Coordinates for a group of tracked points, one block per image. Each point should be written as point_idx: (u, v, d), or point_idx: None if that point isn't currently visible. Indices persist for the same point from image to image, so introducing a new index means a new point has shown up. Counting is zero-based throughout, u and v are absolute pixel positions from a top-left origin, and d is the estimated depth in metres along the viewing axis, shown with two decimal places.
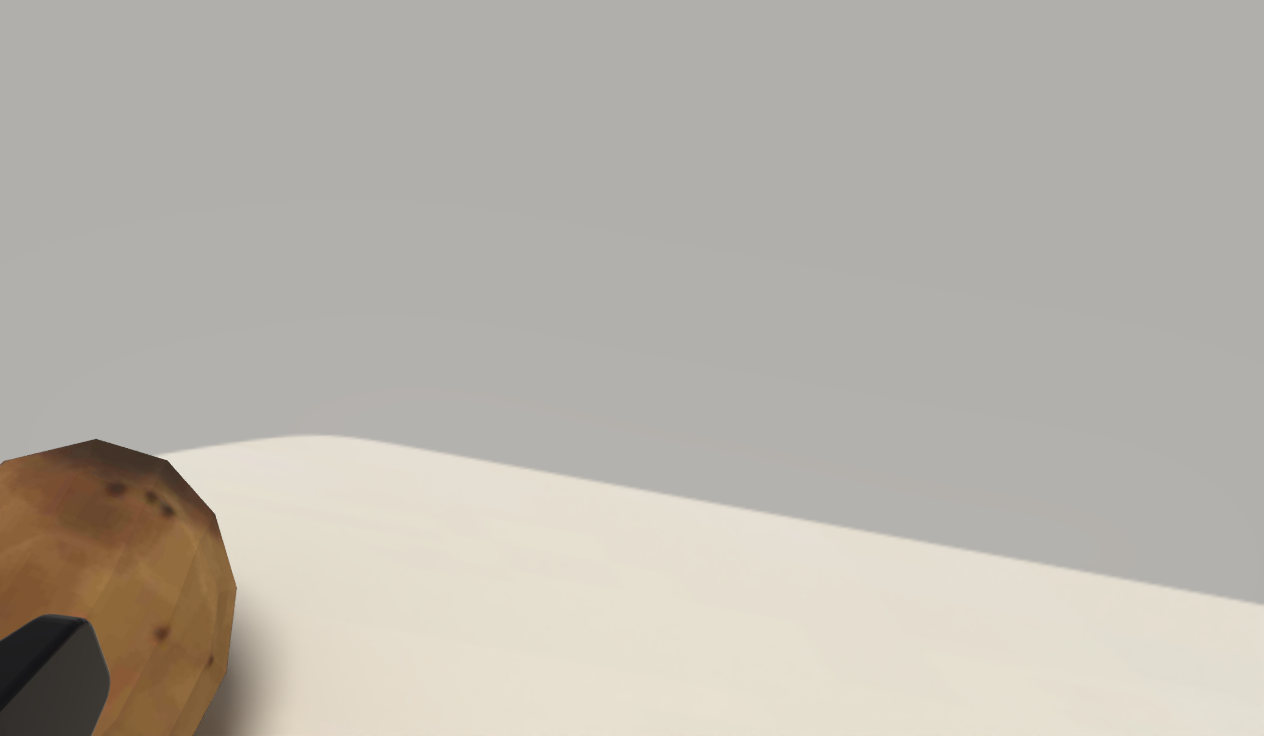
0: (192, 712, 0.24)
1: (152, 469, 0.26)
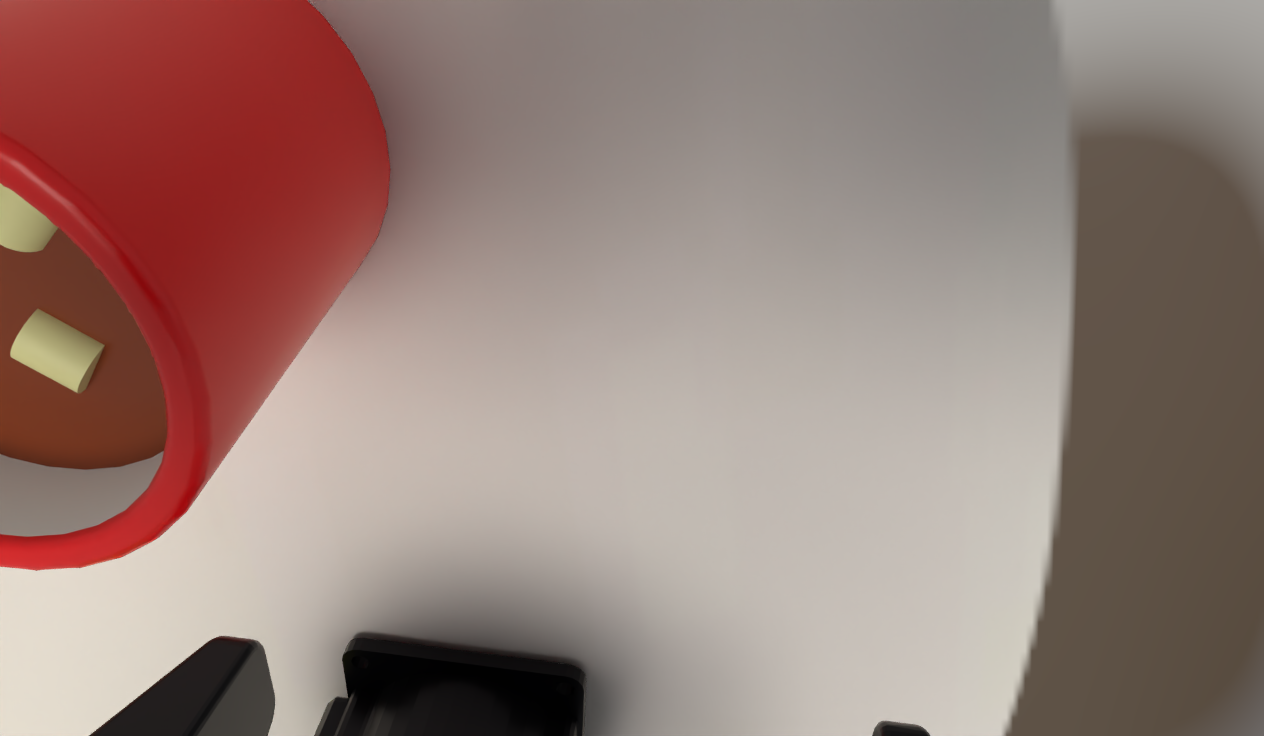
0: None
1: None
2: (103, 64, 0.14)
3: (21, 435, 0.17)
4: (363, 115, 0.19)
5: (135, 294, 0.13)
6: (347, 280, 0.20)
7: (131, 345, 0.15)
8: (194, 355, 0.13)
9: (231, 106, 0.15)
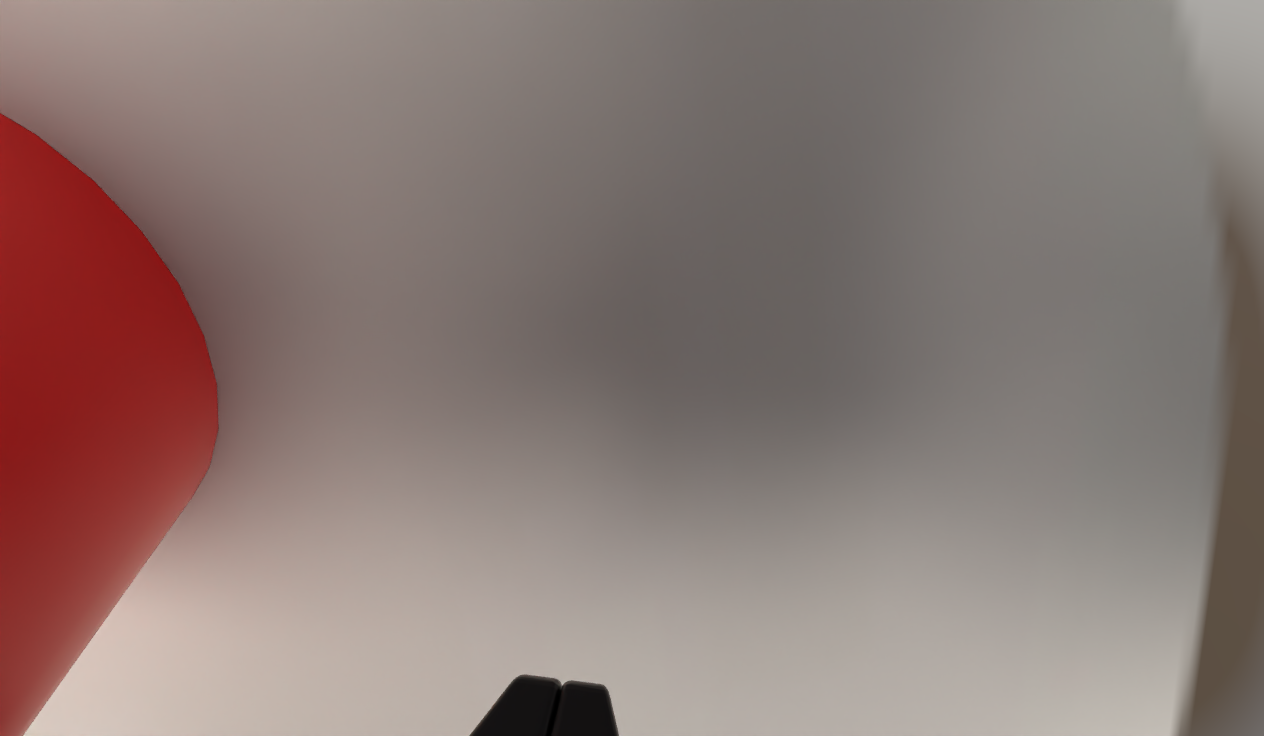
0: None
1: None
2: None
3: None
4: (157, 326, 0.12)
5: None
6: (150, 550, 0.14)
7: None
8: None
9: None
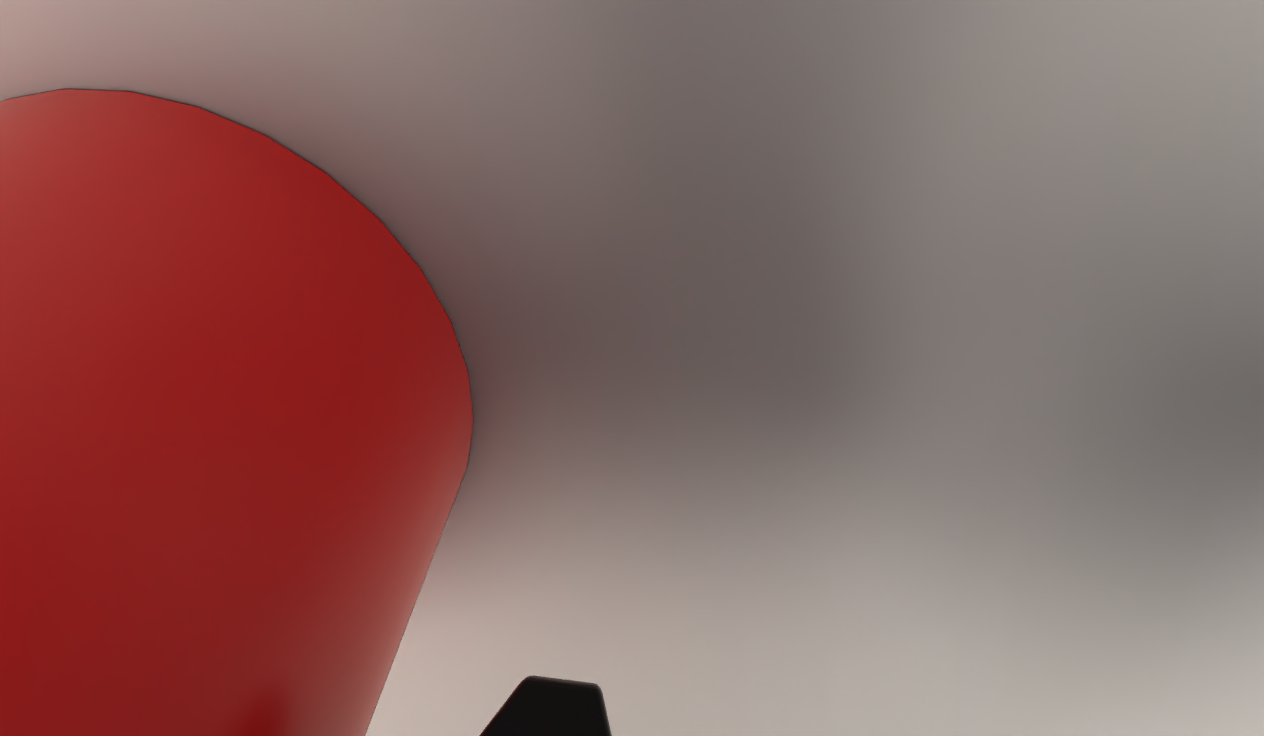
0: None
1: None
2: (2, 446, 0.07)
3: None
4: (440, 366, 0.12)
5: None
6: None
7: None
8: None
9: (242, 453, 0.09)
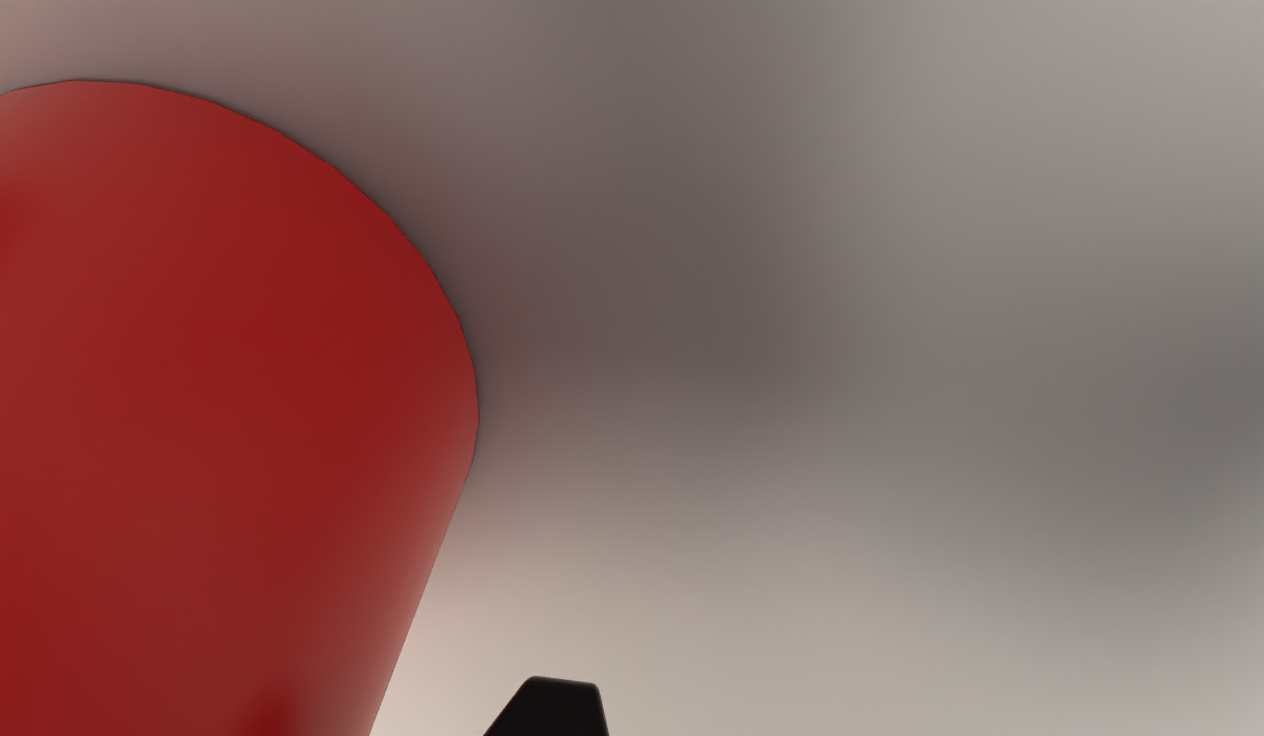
0: None
1: None
2: (16, 442, 0.07)
3: None
4: (447, 363, 0.12)
5: None
6: None
7: None
8: None
9: (252, 450, 0.09)
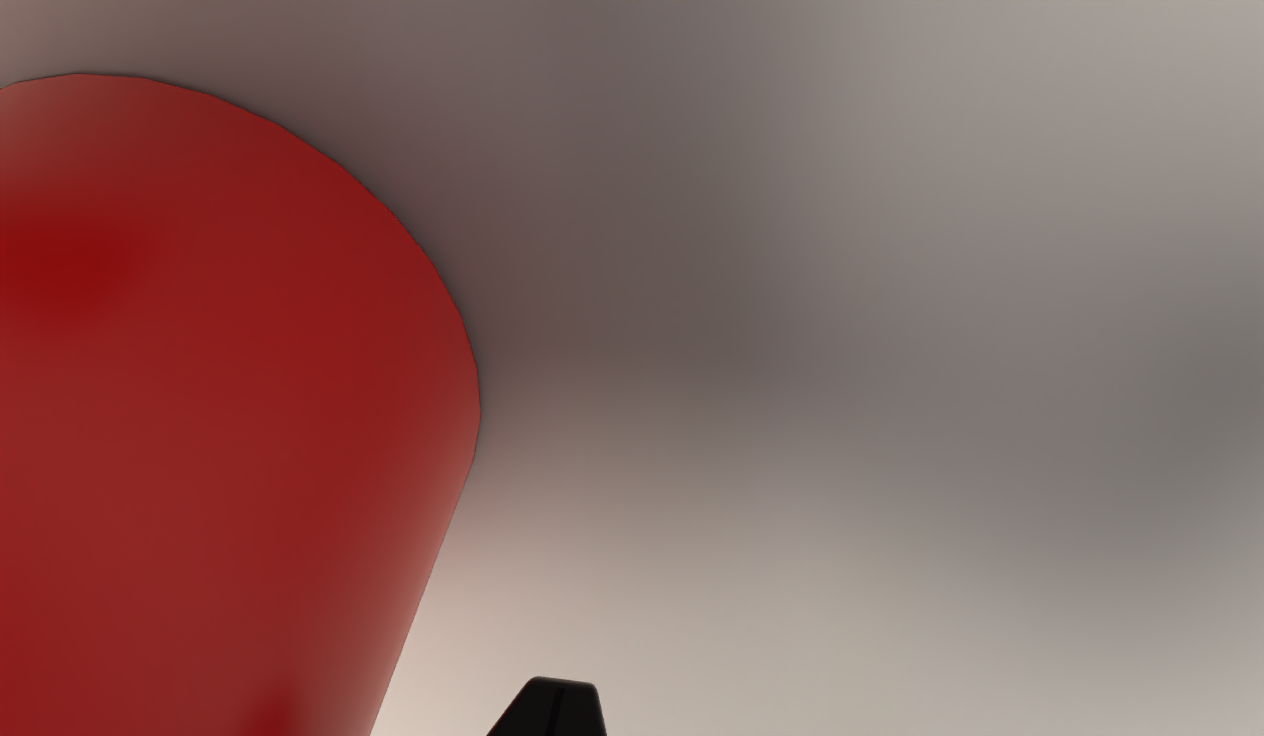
0: None
1: None
2: (20, 441, 0.07)
3: None
4: (450, 361, 0.12)
5: None
6: None
7: None
8: None
9: (257, 450, 0.09)
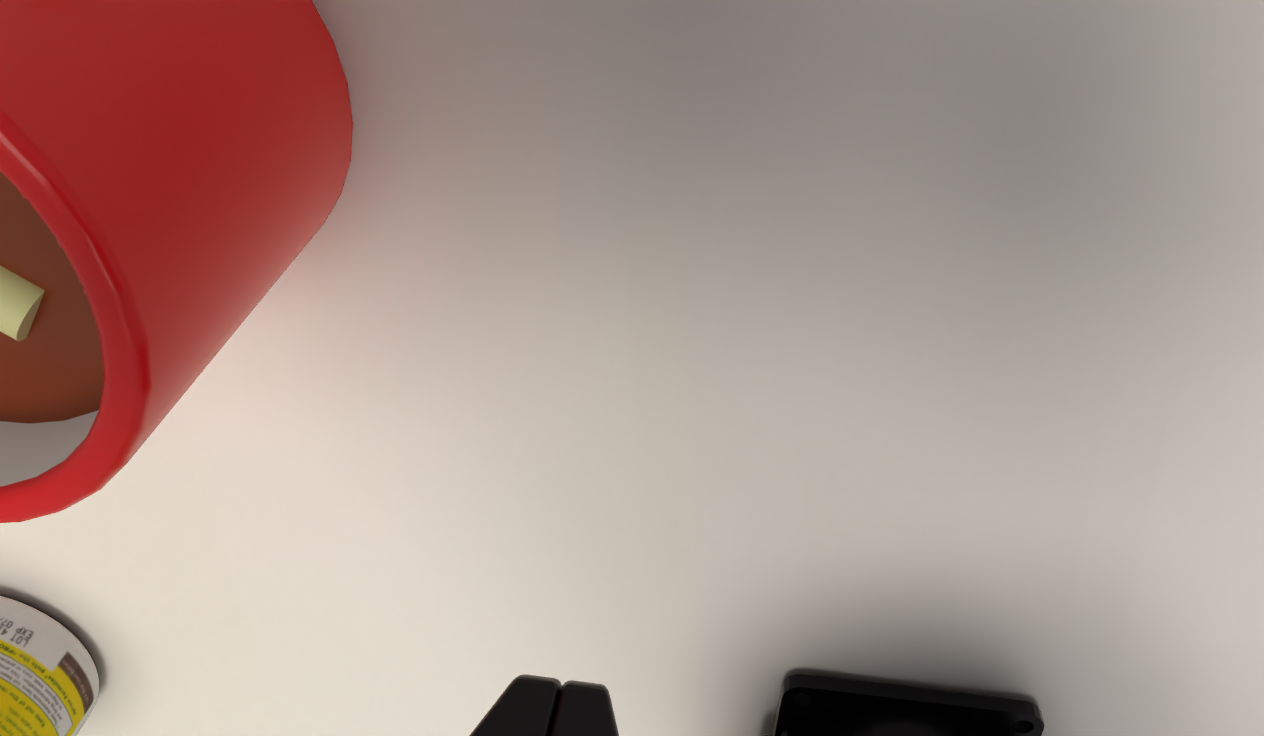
0: None
1: None
2: None
3: None
4: (323, 64, 0.18)
5: (64, 226, 0.12)
6: (307, 236, 0.19)
7: (72, 291, 0.15)
8: (129, 293, 0.13)
9: (176, 42, 0.15)
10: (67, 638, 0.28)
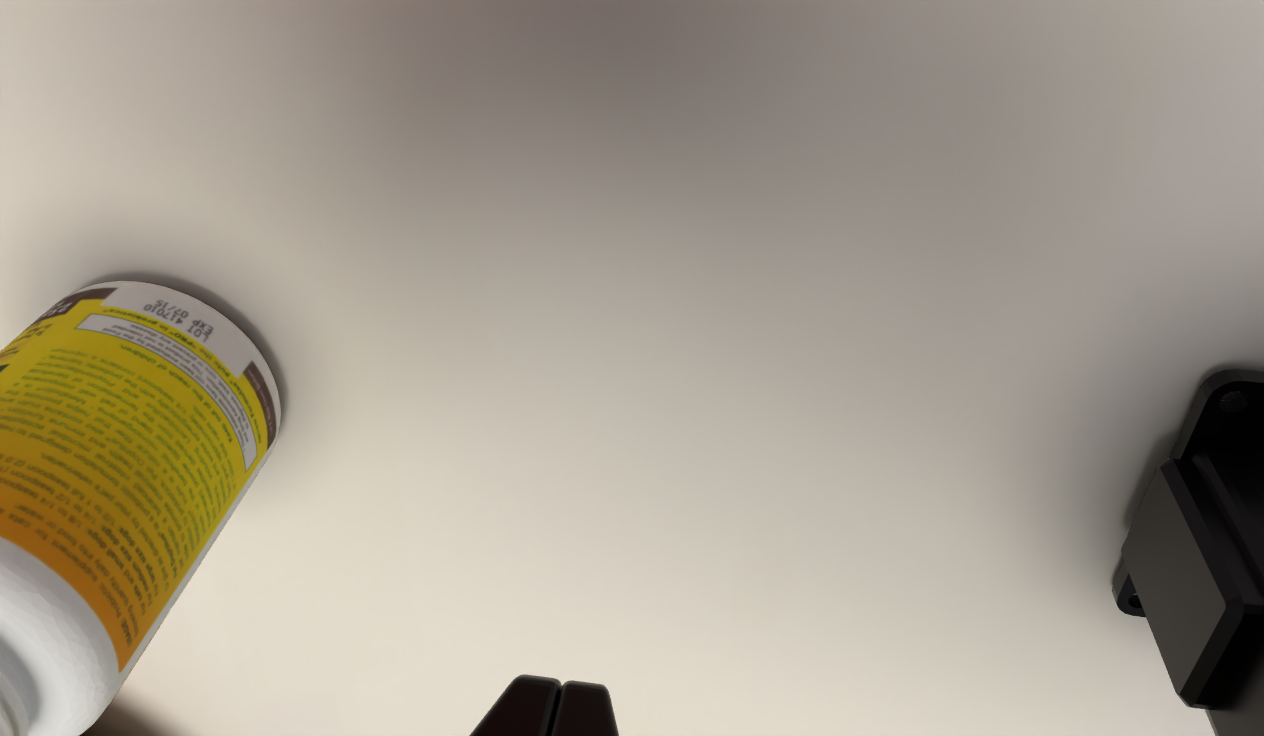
0: None
1: None
2: None
3: None
4: None
5: None
6: None
7: None
8: None
9: None
10: (251, 345, 0.22)
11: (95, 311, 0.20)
